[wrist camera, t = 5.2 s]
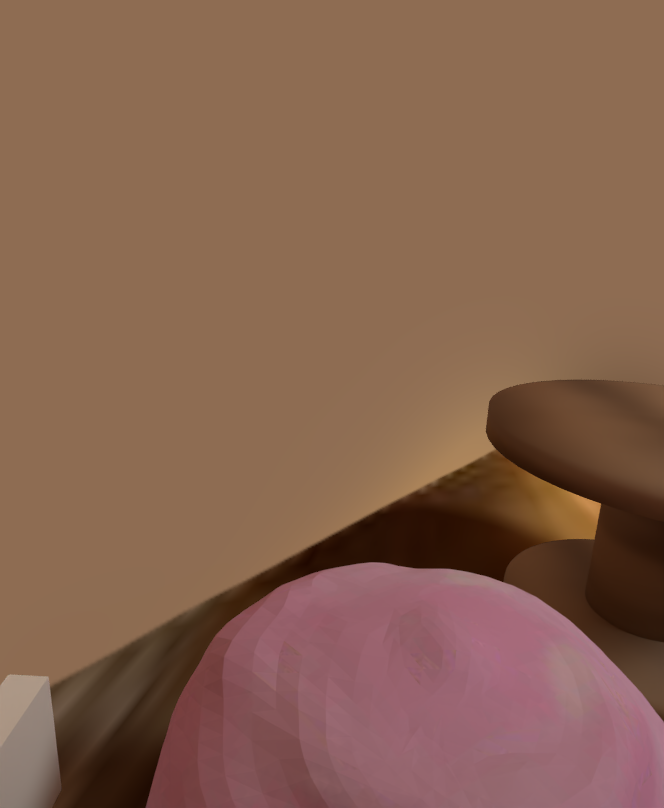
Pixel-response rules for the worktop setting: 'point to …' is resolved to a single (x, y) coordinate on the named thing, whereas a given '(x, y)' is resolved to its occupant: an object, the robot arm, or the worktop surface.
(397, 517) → the worktop surface
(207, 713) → the cupcake
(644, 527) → the cake stand
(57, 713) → the worktop surface
